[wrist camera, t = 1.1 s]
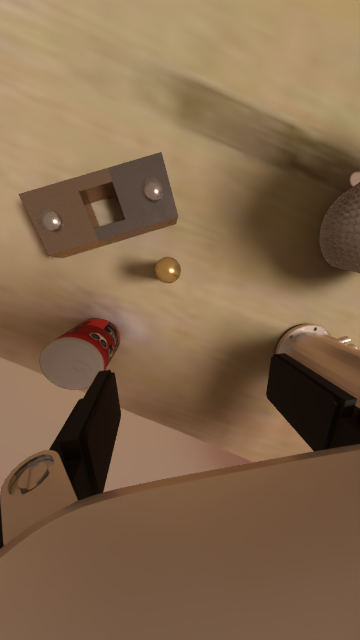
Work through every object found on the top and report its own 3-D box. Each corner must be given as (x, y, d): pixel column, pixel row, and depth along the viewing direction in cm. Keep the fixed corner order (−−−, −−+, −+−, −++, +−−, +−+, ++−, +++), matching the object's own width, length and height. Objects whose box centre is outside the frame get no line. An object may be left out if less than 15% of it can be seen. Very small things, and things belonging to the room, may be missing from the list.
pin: (171, 259, 31) (176, 253, 21) (177, 277, 32) (183, 279, 22) (155, 265, 31) (151, 261, 21) (160, 282, 32) (159, 286, 22)
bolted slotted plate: (161, 169, 27) (161, 149, 22) (176, 223, 29) (178, 214, 25) (39, 205, 27) (14, 192, 22) (63, 257, 29) (45, 255, 24)
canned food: (119, 356, 35) (101, 392, 24) (78, 351, 33) (39, 388, 23) (123, 320, 33) (104, 342, 22) (78, 314, 32) (37, 335, 21)
